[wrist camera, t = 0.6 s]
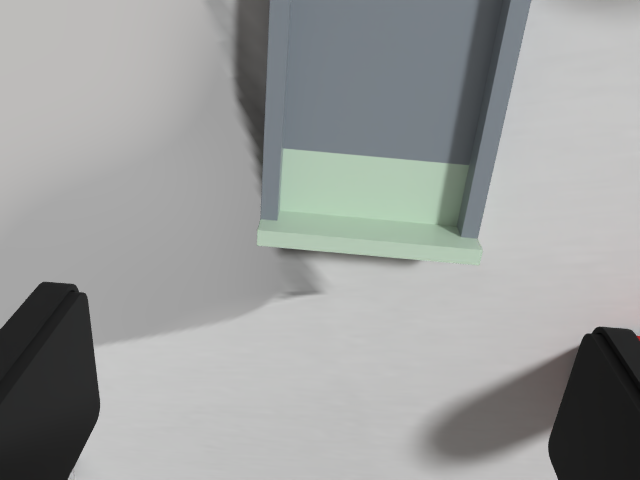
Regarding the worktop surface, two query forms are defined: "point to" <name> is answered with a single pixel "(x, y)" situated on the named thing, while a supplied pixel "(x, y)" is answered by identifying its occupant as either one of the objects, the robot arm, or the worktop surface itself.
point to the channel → (385, 123)
